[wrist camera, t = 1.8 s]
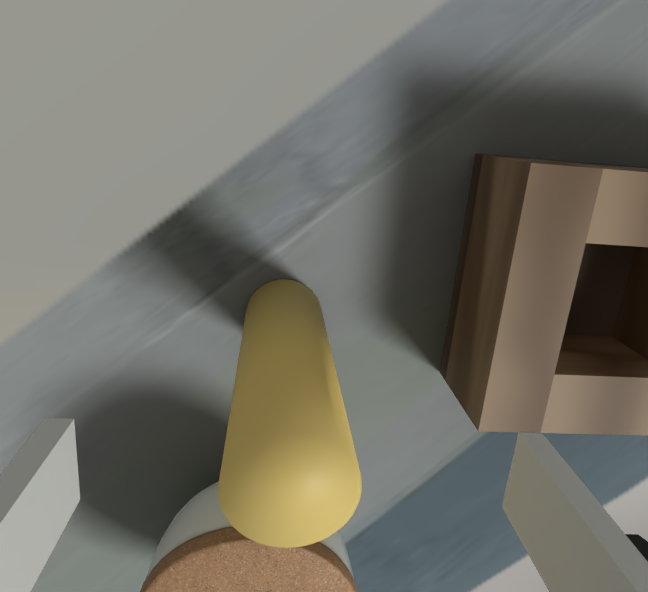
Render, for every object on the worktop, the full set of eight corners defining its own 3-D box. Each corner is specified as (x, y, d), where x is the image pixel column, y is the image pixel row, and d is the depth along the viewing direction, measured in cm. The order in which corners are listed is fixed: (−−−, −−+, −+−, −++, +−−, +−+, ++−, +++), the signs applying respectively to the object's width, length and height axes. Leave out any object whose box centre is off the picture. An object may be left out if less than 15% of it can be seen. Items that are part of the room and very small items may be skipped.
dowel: (244, 348, 28) (216, 547, 15) (247, 277, 27) (219, 425, 14) (318, 351, 29) (354, 547, 15) (324, 281, 27) (369, 429, 14)
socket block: (439, 372, 30) (478, 431, 24) (475, 154, 26) (531, 162, 20) (636, 379, 31) (717, 436, 25) (697, 172, 27) (807, 185, 22)
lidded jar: (159, 579, 33) (115, 750, 24) (170, 430, 29) (125, 563, 21) (328, 588, 34) (346, 752, 25) (356, 447, 31) (389, 577, 22)
